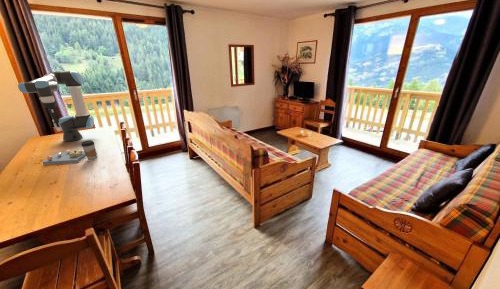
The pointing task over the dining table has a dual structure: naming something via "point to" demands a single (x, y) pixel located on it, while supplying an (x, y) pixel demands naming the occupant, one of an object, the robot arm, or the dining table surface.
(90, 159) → the coffee cup
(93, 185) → the dining table surface
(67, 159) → the board
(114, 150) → the dining table surface
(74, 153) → the brass cover
